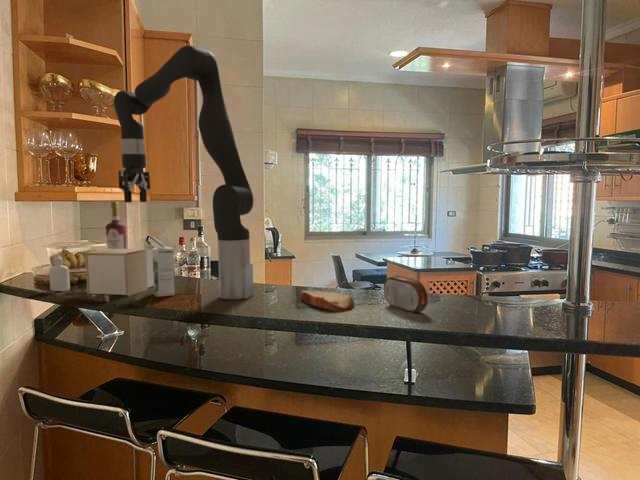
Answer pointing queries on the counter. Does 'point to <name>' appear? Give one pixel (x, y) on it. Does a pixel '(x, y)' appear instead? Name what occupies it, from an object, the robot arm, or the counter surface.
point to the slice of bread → (328, 300)
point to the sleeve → (128, 268)
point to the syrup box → (163, 271)
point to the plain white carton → (113, 273)
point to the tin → (405, 293)
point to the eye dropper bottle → (59, 276)
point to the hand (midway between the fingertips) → (136, 202)
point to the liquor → (116, 230)
